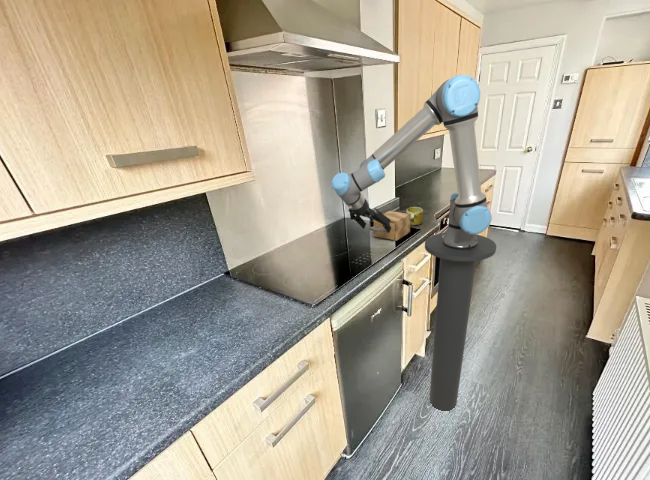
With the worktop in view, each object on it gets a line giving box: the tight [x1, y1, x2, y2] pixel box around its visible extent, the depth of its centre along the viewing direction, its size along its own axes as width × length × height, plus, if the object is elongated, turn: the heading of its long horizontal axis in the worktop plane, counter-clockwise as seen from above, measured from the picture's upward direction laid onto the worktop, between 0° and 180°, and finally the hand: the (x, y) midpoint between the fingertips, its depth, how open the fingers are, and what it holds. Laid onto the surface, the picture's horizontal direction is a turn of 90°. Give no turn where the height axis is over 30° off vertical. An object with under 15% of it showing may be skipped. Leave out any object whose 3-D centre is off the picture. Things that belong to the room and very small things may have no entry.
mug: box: [405, 206, 424, 227], centre depth 174 cm, size 12×10×10 cm
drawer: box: [369, 220, 395, 241], centre depth 156 cm, size 20×11×8 cm, turn 147°
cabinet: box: [373, 210, 411, 242], centre depth 160 cm, size 15×13×10 cm
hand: (376, 228), depth 148 cm, fingers open, 13 cm apart
